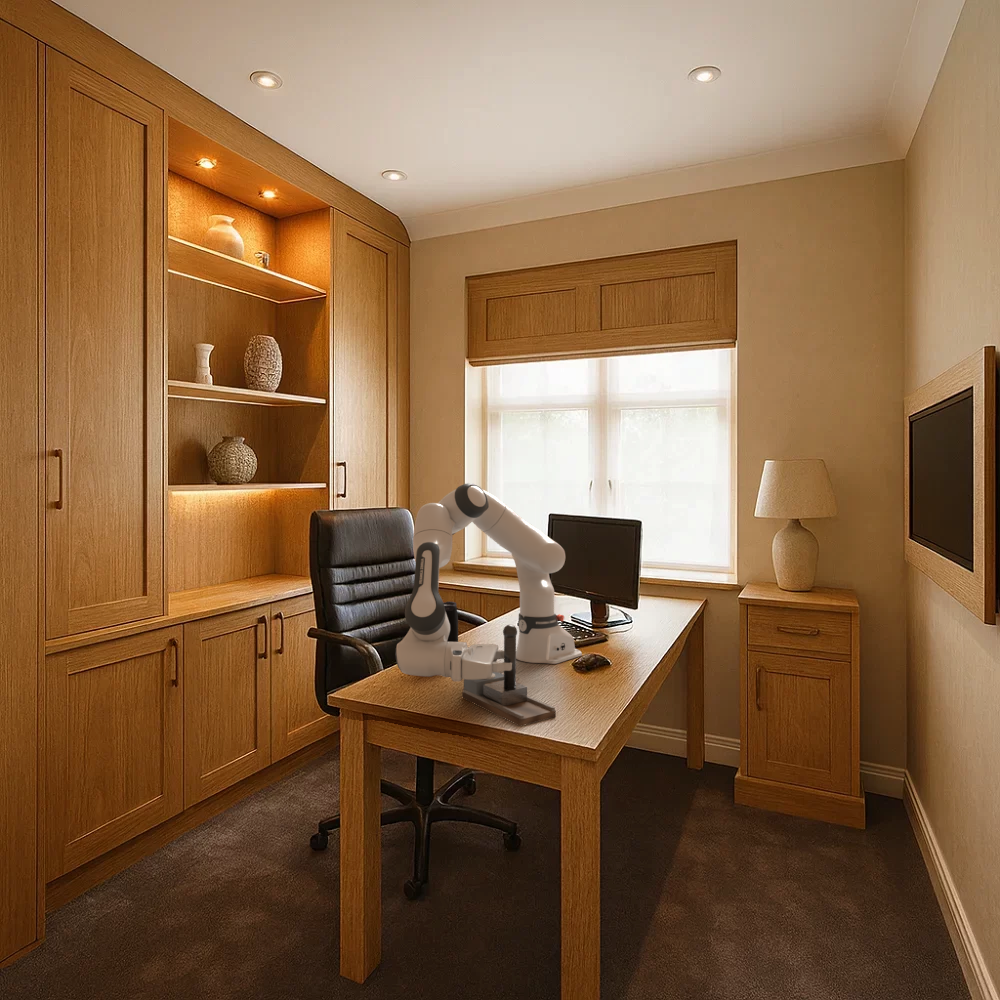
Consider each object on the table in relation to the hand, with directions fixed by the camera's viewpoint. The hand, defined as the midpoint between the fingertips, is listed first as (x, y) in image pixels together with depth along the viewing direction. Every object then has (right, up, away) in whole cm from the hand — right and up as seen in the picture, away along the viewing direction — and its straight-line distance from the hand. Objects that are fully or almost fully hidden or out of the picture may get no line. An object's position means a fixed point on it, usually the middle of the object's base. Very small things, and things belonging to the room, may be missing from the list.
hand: (513, 661), depth 175 cm
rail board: (-2, -12, +1) cm, 12 cm away
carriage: (-2, -10, +2) cm, 11 cm away
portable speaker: (-20, -11, +38) cm, 44 cm away
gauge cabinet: (-7, -10, +9) cm, 15 cm away
